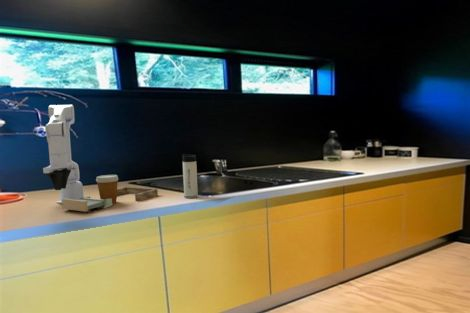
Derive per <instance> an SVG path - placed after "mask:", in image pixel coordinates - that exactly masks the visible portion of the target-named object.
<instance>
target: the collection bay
mask: <svg viewBox="0 0 470 313" xmlns="http://www.w3.org/2000/svg"><path fill="white" fill-rule="evenodd" d="M124 194H134V196H135V200H134V201H135V202H140V201H143V200H147V199H150V198H153V197H157V196H159V193H158V189H157V188H148V187H147V188H146V187H137V186H136V187H133V186H124V187H119V188H117V196H120V195H121V196H122V195H124Z"/></svg>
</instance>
